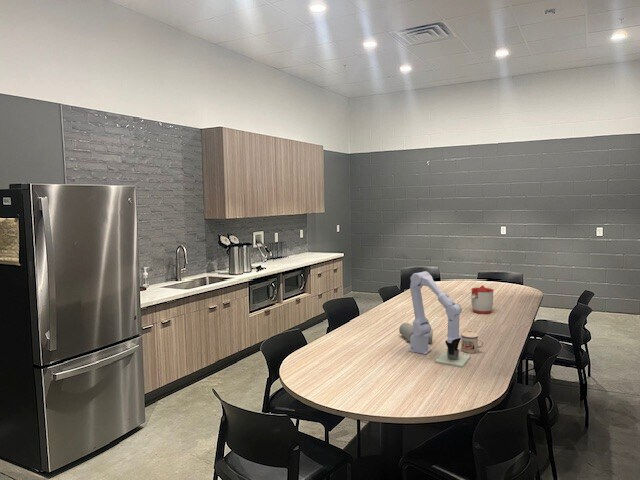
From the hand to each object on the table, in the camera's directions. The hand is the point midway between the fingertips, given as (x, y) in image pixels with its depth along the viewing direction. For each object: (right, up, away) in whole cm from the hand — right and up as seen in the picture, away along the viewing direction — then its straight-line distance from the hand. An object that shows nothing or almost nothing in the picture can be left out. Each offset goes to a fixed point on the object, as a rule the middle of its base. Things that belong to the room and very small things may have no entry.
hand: (453, 352), depth 246 cm
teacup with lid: (+15, -3, +15) cm, 21 cm away
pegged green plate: (0, -4, 0) cm, 4 cm away
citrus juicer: (+49, +5, +100) cm, 112 cm away
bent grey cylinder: (-12, -1, +36) cm, 38 cm away
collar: (0, -2, 0) cm, 2 cm away
